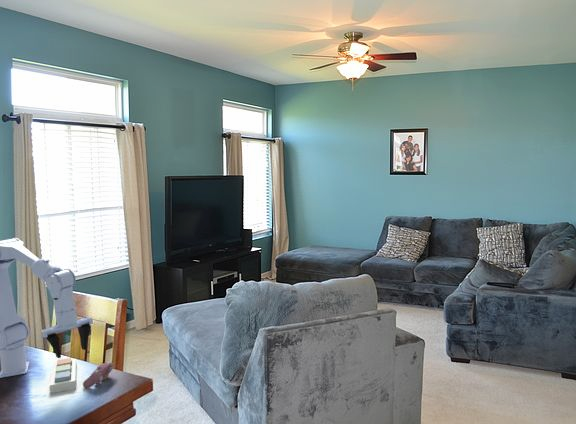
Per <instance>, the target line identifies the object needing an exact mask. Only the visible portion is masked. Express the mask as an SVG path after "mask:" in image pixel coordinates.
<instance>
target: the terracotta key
mask: <svg viewBox="0 0 576 424" xmlns="http://www.w3.org/2000/svg"><path fill="white" fill-rule="evenodd" d="M71 360H72V358H71V357H68V358H62V359H61V358H59V359H57V361H56V362H57V366H62V365H68V364H70V365H71Z"/></svg>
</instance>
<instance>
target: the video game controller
mask: <svg viewBox="0 0 576 424" xmlns="http://www.w3.org/2000/svg"><path fill="white" fill-rule="evenodd" d="M114 367H115V364H114V363H112V362H109V361H106V362H104V363H100V364H99V365H98V366H97V367H96V369H95V370H94V371H93V372H92V373H91V374H90V375H89V376H88V377H87V378H86V379H84V381H83V382H82V386H83V388H85V389H88V388H89V389H90V388H91V387H93V386H95V385H97V386H99V385H100V384H101V382H102V381H105V380H107V379H108V376H109V374H110V373H111V372H112V371H113V369H114Z"/></svg>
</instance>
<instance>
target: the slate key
mask: <svg viewBox="0 0 576 424" xmlns="http://www.w3.org/2000/svg"><path fill="white" fill-rule="evenodd" d="M68 380H70V371H66V372H60V373H56V376H55V382H56V383H57V382H62V381H68Z"/></svg>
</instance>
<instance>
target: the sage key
mask: <svg viewBox="0 0 576 424" xmlns="http://www.w3.org/2000/svg"><path fill="white" fill-rule="evenodd" d="M66 371H70V373H71V365H70V364H68V365H62V366H57V368H56V373H60V372H66Z"/></svg>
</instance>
